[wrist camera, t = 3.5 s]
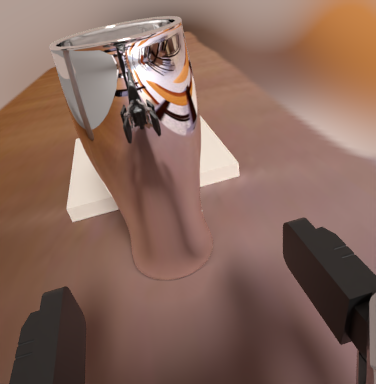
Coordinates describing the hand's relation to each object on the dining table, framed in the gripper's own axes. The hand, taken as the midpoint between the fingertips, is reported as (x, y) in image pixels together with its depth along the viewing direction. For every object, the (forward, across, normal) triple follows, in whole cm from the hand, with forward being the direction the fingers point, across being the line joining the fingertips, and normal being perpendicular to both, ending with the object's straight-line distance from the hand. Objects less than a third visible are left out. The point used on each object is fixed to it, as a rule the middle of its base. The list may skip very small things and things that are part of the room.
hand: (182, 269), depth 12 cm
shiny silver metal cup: (+10, 0, +8) cm, 13 cm away
